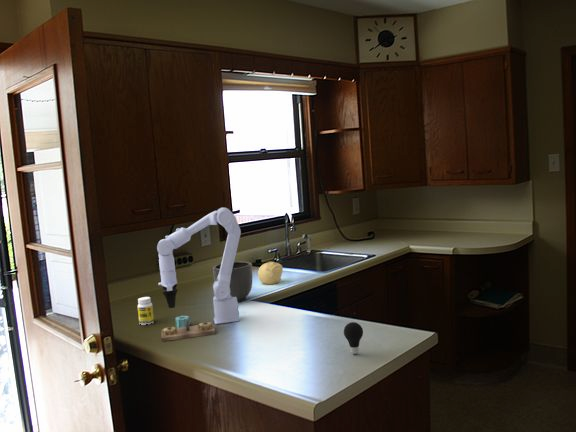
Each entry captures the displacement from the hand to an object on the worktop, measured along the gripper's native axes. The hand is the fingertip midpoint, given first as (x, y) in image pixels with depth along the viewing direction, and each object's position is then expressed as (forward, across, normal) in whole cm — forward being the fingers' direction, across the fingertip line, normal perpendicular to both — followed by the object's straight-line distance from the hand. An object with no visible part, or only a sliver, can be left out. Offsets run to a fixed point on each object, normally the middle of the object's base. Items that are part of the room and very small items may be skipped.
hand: (171, 305), depth 210 cm
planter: (+9, -28, +27) cm, 40 cm away
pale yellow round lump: (+9, -53, +48) cm, 73 cm away
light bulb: (+10, +57, +53) cm, 78 cm away
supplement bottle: (+9, -11, -11) cm, 18 cm away
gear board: (+9, +11, +5) cm, 15 cm away
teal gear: (+9, 0, +3) cm, 9 cm away
